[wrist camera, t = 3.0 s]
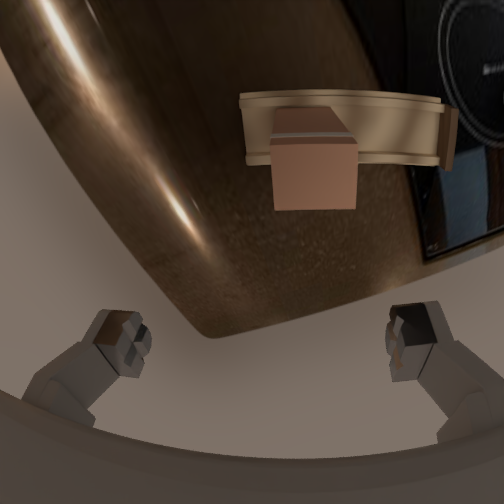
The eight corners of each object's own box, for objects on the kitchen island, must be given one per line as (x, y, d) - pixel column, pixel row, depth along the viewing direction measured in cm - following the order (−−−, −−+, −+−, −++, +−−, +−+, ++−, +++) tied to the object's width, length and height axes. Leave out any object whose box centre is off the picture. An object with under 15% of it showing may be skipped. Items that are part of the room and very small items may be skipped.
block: (279, 149, 35) (274, 211, 23) (276, 107, 32) (268, 144, 20) (331, 148, 34) (355, 209, 22) (330, 106, 31) (359, 143, 19)
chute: (248, 163, 37) (244, 174, 35) (240, 93, 32) (235, 97, 29) (439, 164, 34) (450, 175, 31) (445, 98, 29) (458, 104, 26)
